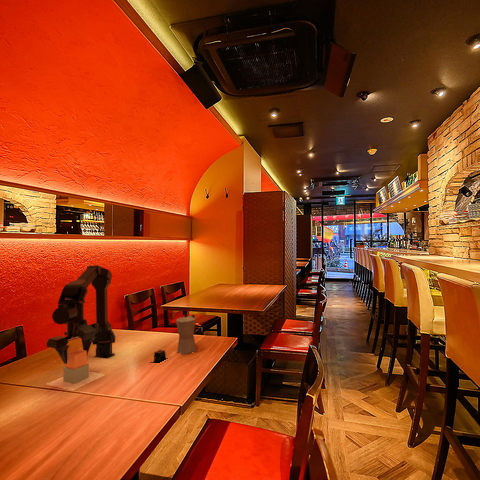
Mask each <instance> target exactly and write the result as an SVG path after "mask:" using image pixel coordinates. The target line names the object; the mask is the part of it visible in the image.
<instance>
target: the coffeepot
mask: <svg viewBox="0 0 480 480" xmlns="http://www.w3.org/2000/svg"><path fill="white" fill-rule="evenodd" d="M175 322H176V328H177V332H178V333H177V334H178V341H177V342H178V343H177V351H176V353H177V352H178V354H179V353H181V354H180V355H189V354H188V353H191V354H193V353H192V352H194V353H196V351H197V347H196V342H195V336H194V334H195V325H196V316H195V315H194V314H191V315H189V316H188V312H184V316H183V317H179V318H177V319H176V321H175Z"/></svg>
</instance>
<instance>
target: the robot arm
mask: <svg viewBox="0 0 480 480" xmlns="http://www.w3.org/2000/svg"><path fill="white" fill-rule="evenodd" d="M112 278H113V273H112V272H111V271H110V269H108V268H104V267H102V266H101V265H99V264H98V265H97V264H96V265H88V266H87V267H86V269H85V271H83V272H82V273H81V274H80V276H78V278H77V279H75V280H73V281H70V282H68V283H66V284H65V285H64V286H63V288H62V290H61V293H60V295H59V299H58V301H57V308H55V309H54V310H53V313H52V314H51V317H52V321H53V322H54V323H55V324H57V325H66V331H64V336H59V335H55V336H53V337H49V338H48V339H47V340H46V348H51V349H54V350H55V351H56V352H57V354H58V355H59V357H60V358H61V361H62V362H63V364H64V365H65V364H67V353H68V349H69V348H70V345H68V344H69V342H71V341H74V340H76V339H81V343H82V344H81V345H82V350H85V351H87V356H88V354H89V351H90V348H91V345H93V346H94V345H95V347H96V348H95V355H94V357H97V358H101V359H109V358H111V357H113V356H115V355H116V354H115V352H113V344H115V343H116V339H117V338H116V334H115V333H114V331H113V327H112V325H111V323H110V321H109V316H108V315H109V314H108V289H109V286H110V285H111V284H112ZM90 285H91V286H92V287H93V289H94V290H95V321H96V322H94V323H92V324H88V322H87V321H88V320H87V319H86V318H84V317H85V313H84V309H85V307H84V306H85V305H84V304H86V300H85V299H86V296H87V294H88V287H90Z"/></svg>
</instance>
